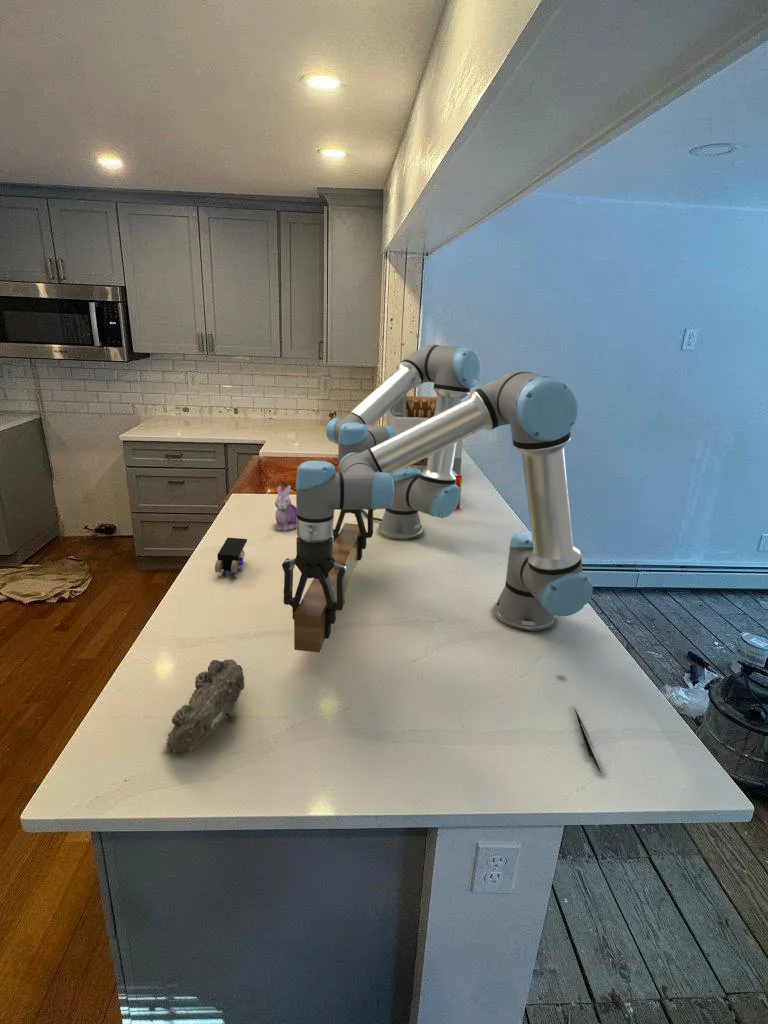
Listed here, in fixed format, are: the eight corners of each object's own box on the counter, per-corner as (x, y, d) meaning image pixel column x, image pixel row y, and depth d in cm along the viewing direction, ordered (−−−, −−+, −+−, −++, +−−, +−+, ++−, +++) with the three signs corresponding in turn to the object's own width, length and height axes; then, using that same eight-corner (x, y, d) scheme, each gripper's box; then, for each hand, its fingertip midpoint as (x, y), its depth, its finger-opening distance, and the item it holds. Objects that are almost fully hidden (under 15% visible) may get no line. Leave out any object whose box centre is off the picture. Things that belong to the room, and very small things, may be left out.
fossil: (192, 660, 117) (244, 628, 112) (224, 691, 120) (276, 661, 115) (142, 746, 98) (202, 712, 93) (182, 779, 101) (242, 748, 96)
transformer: (382, 463, 289) (386, 382, 275) (445, 464, 293) (451, 384, 279) (390, 482, 257) (394, 392, 243) (460, 483, 261) (468, 394, 247)
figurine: (278, 533, 195) (277, 491, 190) (270, 523, 204) (269, 483, 199) (304, 529, 199) (304, 488, 194) (295, 519, 208) (294, 480, 203)
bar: (344, 550, 170) (344, 522, 167) (362, 551, 169) (363, 524, 166) (294, 649, 119) (294, 613, 116) (319, 652, 119) (320, 616, 116)
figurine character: (238, 584, 162) (249, 557, 175) (236, 562, 158) (247, 536, 172) (215, 584, 161) (227, 556, 175) (212, 561, 158) (225, 535, 171)
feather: (561, 682, 125) (567, 675, 124) (600, 777, 98) (608, 769, 98) (555, 678, 125) (561, 671, 124) (592, 772, 98) (600, 765, 98)
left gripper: (315, 481, 153) (314, 559, 161) (383, 487, 151) (379, 566, 159) (321, 474, 160) (321, 549, 168) (386, 479, 158) (382, 555, 166)
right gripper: (265, 538, 114) (267, 638, 122) (356, 547, 112) (352, 648, 120) (276, 525, 121) (278, 620, 129) (362, 533, 119) (358, 629, 127)
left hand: (349, 557), depth 163 cm, fingers closed on bar, 5 cm apart
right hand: (314, 633), depth 124 cm, fingers closed on bar, 5 cm apart
